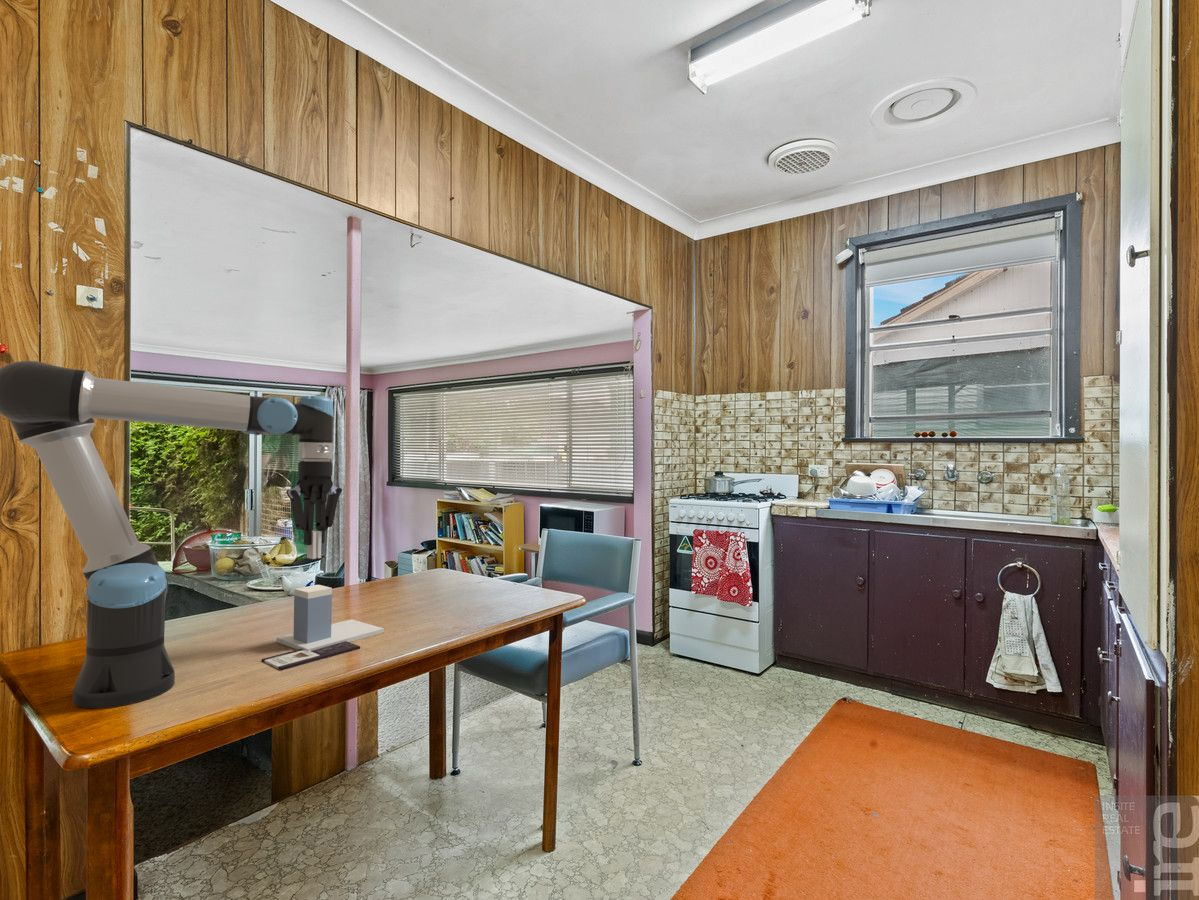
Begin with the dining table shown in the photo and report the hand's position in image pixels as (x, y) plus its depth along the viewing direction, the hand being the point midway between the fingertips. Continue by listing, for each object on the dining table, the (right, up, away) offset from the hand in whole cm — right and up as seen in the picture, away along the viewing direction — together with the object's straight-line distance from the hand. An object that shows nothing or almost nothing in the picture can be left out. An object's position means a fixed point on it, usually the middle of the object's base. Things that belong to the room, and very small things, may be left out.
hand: (313, 557), depth 143 cm
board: (+2, -21, +4) cm, 21 cm away
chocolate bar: (+4, -21, -9) cm, 23 cm away
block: (0, -19, 0) cm, 19 cm away
